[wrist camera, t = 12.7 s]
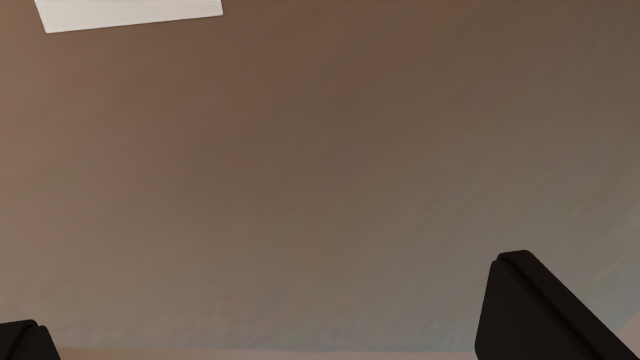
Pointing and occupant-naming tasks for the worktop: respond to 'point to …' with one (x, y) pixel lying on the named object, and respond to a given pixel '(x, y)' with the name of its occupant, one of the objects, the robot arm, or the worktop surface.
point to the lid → (119, 12)
